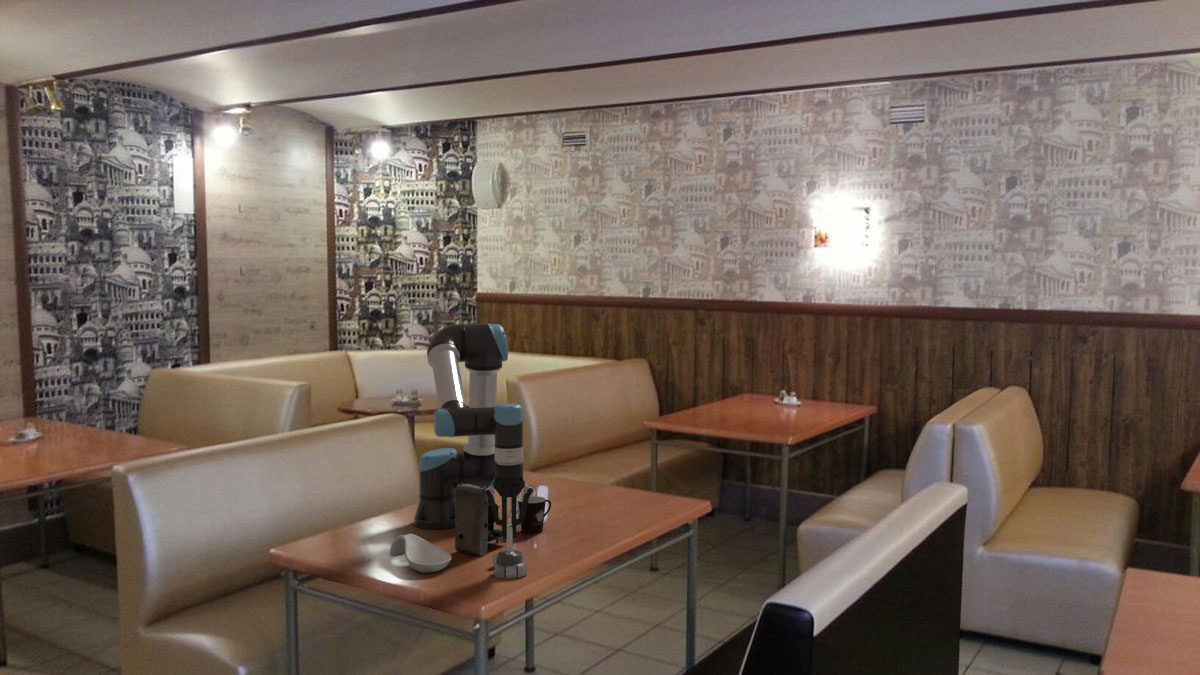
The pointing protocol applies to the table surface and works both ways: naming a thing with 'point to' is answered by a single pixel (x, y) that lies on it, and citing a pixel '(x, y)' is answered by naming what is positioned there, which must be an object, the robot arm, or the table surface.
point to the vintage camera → (474, 520)
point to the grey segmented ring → (509, 569)
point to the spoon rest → (420, 553)
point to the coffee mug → (534, 514)
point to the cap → (509, 557)
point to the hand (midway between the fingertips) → (509, 549)
